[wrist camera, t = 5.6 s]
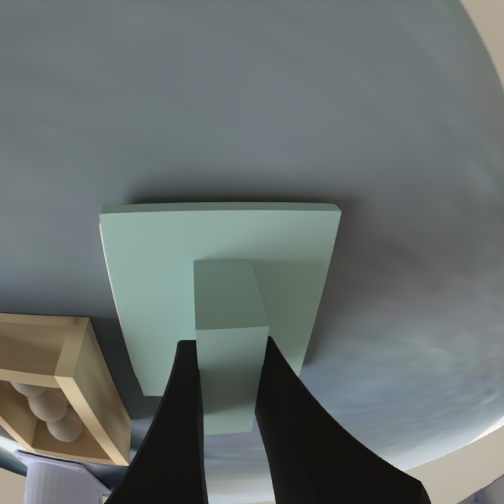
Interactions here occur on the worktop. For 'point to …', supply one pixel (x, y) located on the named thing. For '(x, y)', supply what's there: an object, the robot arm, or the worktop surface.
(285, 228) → the lid
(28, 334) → the box
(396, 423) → the worktop surface
